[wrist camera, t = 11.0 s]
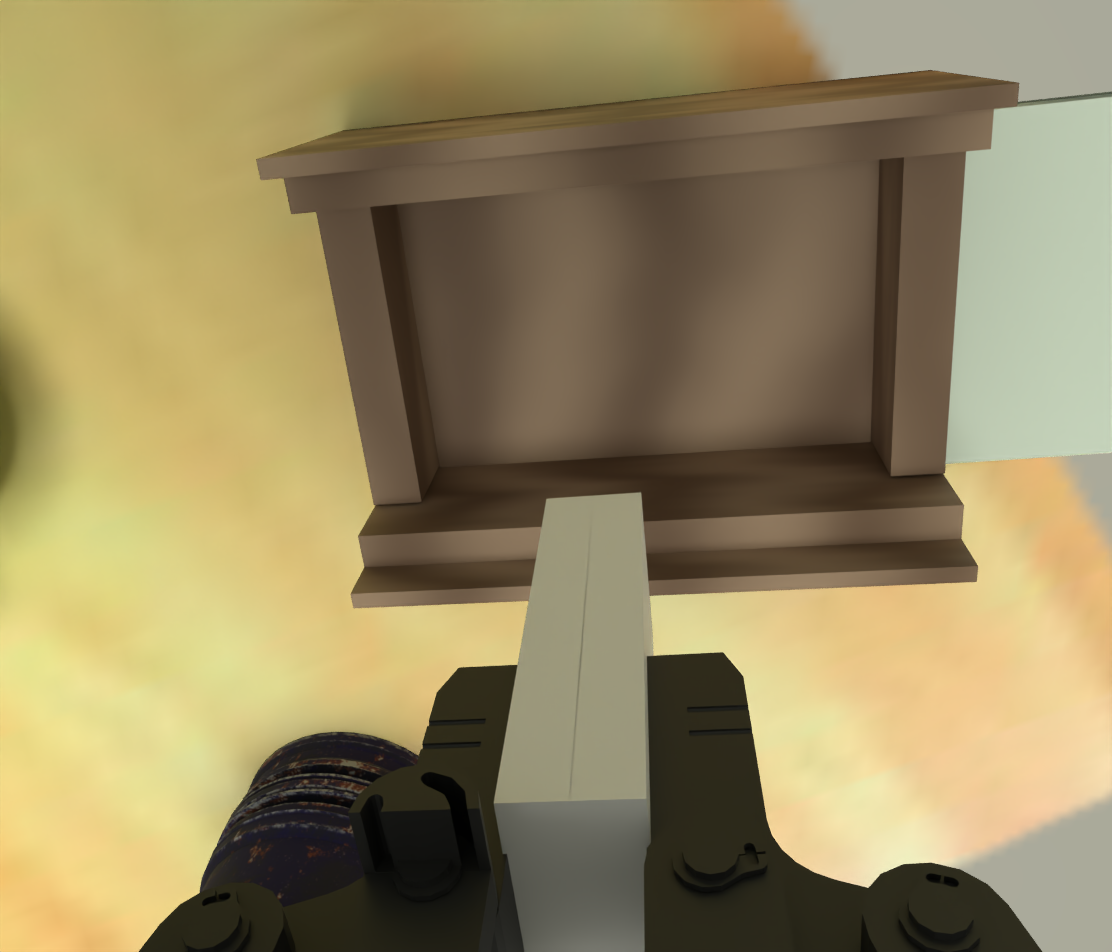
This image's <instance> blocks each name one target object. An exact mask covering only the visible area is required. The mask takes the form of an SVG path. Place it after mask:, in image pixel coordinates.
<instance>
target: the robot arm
mask: <svg viewBox="0 0 1112 952" xmlns="http://www.w3.org/2000/svg"><path fill="white" fill-rule="evenodd" d="M348 815H349V819H350V823H351V826H352V830H353V834H354V838H355V841H356V845H357V849H358V853H359V856H360V860H361V864H362V868H363V871H364V875H363V877H362V878H360V879H359V880H357V881H355V882H354V883H352V884H350V885H349V886H347V887H344V888H342V889H339V890H337V891H334V892H332V893H329V894H326V895H323V896H319V897H316V898H313V899H309V900H306V901H303V902H299V903H296V904H293V905H289V906H286V907H283V906H282V904H281V903H280V902H279V900H278V899H277V897H276V896H275V894H274V893H273V891H271V890H269V889H267V888H264V887H262V886H260V885H257V884H255V883H227V884H224V885H221V886H217V887H214V888H210V889H207V890H204V891H202V892H201V893H199V894H197V895H196V896H194V897H192V898H190V899H189V900H187V901H185V902H184V903H182V904H180V905H179V906H178V907H177V908H176V909H175V910H174V911H173V912H172V913H171V914H170V915H169V916H168V917H167V918H166V919H165V920H164V921H163V922H162V923H161V924H160V925H159V926H158V928H157V929H156V930H155V931H154V933H153V934H152V935H151V937H150V938H149V939H148V940H147V942H146V943H145V944H144V946H143V947H142V948H141V949H140V951H139V952H1042V951H1041V949H1040V948H1039V947H1038V945H1037V944H1036V943H1035V941H1034V940H1033V938H1032V937H1031V936H1030V934H1029V933H1028V931H1027V930H1026V929H1025V928H1024V926H1023V925H1022V923H1021V922H1020V921H1019V919H1018V918H1017V916H1016V915H1015V914H1014V912H1013V911H1012V909H1011V908H1010V907H1009V905H1008V904H1007V903H1006V902H1005V901H1004V900H1003V899H1002V898H1001V897H1000V896H999V895H998V894H997V893H996V892H995V891H994V890H993V889H992V888H991V887H990V886H988V884H986V883H984V882H982V881H980V880H979V879H977V878H975V877H973V876H971V875H969V874H968V873H966V872H964V871H962V870H960V869H956V868H951V867H947V866H943V865H939V864H934V863H918V864H903V865H901V866H898V867H896V868H894V869H891V870H889V871H887V872H884V873H882V874H880V876H879V877H878V878H877V879H876V880H875V881H874V882H873V884H872V885H871V886H870V887H869V888H866V887H862V886H858V885H854V884H850V883H846V882H842V881H838V880H834V879H831V878H828V877H825V876H823V875H820V874H817V873H814V872H812V871H810V870H809V869H807V868H805V867H804V866H802V865H800V864H798V863H797V862H795V861H794V860H793V859H792V858H791V857H790V856H788V855H787V854H786V853H785V852H784V851H783V850H782V849H781V848H780V846H779V845H778V843H777V842H776V841H775V839H774V838H773V836H772V834H771V831H770V828H769V825H768V822H767V819H766V812H765V806H764V800H763V794H762V788H761V782H760V776H759V770H758V764H757V758H756V752H755V746H754V739H753V734H752V727H751V721H750V715H749V710H748V703H747V697H746V691H745V685H744V679H743V676H742V674H741V673H740V672H739V671H738V670H737V668H736V667H735V666H734V665H733V664H732V663H731V661H730V660H729V659H728V658H727V657H726V655H725V654H724V653H723V652H722V653H701V654H681V655H660V656H653V632H652V620H651V608H650V595H649V583H648V571H647V558H646V546H645V534H644V522H643V509H642V497H641V492H640V493H625V494H610V495H595V496H580V497H565V498H550V499H546V505H545V510H544V516H543V522H542V528H541V533H540V539H539V545H538V551H537V556H536V562H535V568H534V574H533V579H532V585H531V591H530V597H529V602H528V608H527V614H526V620H525V626H524V631H523V637H522V643H521V649H520V654H519V660H518V665H505V666H484V667H463V668H458V669H457V670H456V672H455V673H454V674H453V675H452V676H451V677H450V678H449V680H448V681H447V682H446V683H445V684H444V685H443V686H442V688H441V689H440V690H439V691H438V692H437V694H436V698H435V701H434V705H433V708H432V712H431V715H430V719H429V726H427V729H426V733H425V736H424V740H423V749H421V751H420V754H419V758H418V761H417V765H414V766H408V767H403V768H399V769H397V770H395V771H393V772H391V773H388V774H386V775H384V776H382V777H380V778H378V779H376V780H375V781H374V782H373V783H372V784H370V785H369V786H368V787H367V788H366V789H364V790H363V791H362V792H361V793H360V794H359V795H358V797H357V798H356V800H355V802H354V803H353V805H352V807H351V808H350V810H349V812H348Z"/></svg>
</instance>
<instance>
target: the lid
mask: <svg viewBox="0 0 1112 952" xmlns="http://www.w3.org/2000/svg"><path fill="white" fill-rule="evenodd" d="M1101 453H1112V92H1102V93H1093V94H1084V95H1075V96H1067V97H1058V98H1048V99H1038V100H1029V101H1020V102H1018V103H1017V106H1016V107H1006V108H996V109H994V115H993V129H992V142H991V149H987V150H976V151H966V162H965V177H964V192H963V207H962V222H961V237H960V252H959V267H958V282H957V297H956V312H955V327H954V342H953V358H952V373H951V388H950V403H949V418H948V433H947V448H946V463H945V464H951V463H966V462H981V461H996V460H1011V459H1027V458H1042V457H1057V456H1072V455H1087V454H1101Z"/></svg>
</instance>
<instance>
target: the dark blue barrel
mask: <svg viewBox="0 0 1112 952" xmlns="http://www.w3.org/2000/svg"><path fill="white" fill-rule="evenodd" d="M418 758H419V756H417V755H415V754H414V753H412V752H410V751H409V750H407V749H405V748H403V747H401V746H399V745H396V744H394V743H392V742H389V741H387V740H383V739H380V738H377V737H373V736H369V735H363V734H357V733H345V732H331V733H320V734H315V735H311V736H307V737H303V738H300V739H298V740H295V741H293V742H290V743H288V744H286V745H285V746H283V747H282V748H280V749H278V750H277V751H275V752H274V753H273V754H272V755H271V756H270V757H269V758H268V759H267V760H266V761H265V762H264V763H263V765H262V766H261V767H260V769H259V770H258V772H257V774H256V776H255V778H254V779H253V782H252V784H251V786H250V788H249V790H248V793H247V794H246V796H245V797H244V798H243V800H242V802H241V803H240V804H239V805H238V807H237V808H236V809H235V811H234V812H233V813H232V815H231V817H230V819H229V821H228V823H227V825H226V827H225V829H224V830H223V832H222V835H221V837H220V839H219V841H218V843H217V847H216V848H215V849H214V851H213V853H212V856H211V858H210V861H209V863H208V865H207V868H206V870H205V872H204V874H203V877H202V881H201V887H200V893H201V892H202V891H204V890H207V889H210V888H214V887H217V886H221V885H224V884H227V883H255V884H257V885H260V886H262V887H264V888H267V889H269V890H271V891H273V893H274V894H275V896H276V897H277V899H278V900H279V902H280V903H281V904H282V906H283V907H286V906H289V905H293V904H296V903H299V902H303V901H306V900H309V899H313V898H316V897H319V896H323V895H326V894H329V893H332V892H334V891H337V890H339V889H342V888H344V887H347V886H349V885H350V884H352V883H354V882H355V881H357V880H359V879H360V878H362V877H363V875H364V871H363V868H362V864H361V860H360V856H359V853H358V849H357V845H356V841H355V838H354V834H353V830H352V826H351V823H350V819H349V815H348V812H349V810H350V808H351V807H352V805H353V803H354V802H355V800H356V798H357V797H358V795H359V794H360V793H361V792H362V791H363V790H364V789H366V788H367V787H368V786H369V785H370V784H372V783H373V782H374V781H375V780H376V779H378V778H380V777H382V776H384V775H386V774H388V773H391V772H393V771H395V770H397V769H399V768H403V767H408V766H414V765H417V761H418Z"/></svg>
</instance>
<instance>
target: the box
mask: <svg viewBox="0 0 1112 952" xmlns="http://www.w3.org/2000/svg"><path fill="white" fill-rule="evenodd" d="M1018 91H1019V83H1016V82H1009V81H1003V80H996V79H989V78H981V77H975V76H968V75H961V74H954V73H947V72H940V71H932V70H928V71H918V72H908V73H898V74H889V75H879V76H869V77H859V78H850V79H840V80H830V81H820V82H811V83H801V84H791V85H781V86H772V87H762V88H752V89H742V90H733V91H723V92H713V93H704V94H694V95H684V96H674V97H665V98H655V99H645V100H635V101H626V102H616V103H606V104H596V105H587V106H577V107H567V108H558V109H548V110H538V111H528V112H519V113H509V114H499V115H489V116H480V117H470V118H460V119H450V120H441V121H431V122H421V123H412V124H402V125H392V126H382V127H373V128H363V129H353V130H343V131H340V132H337V133H334V134H331V135H328V136H325V137H322V138H319V139H316V140H313V141H310V142H307V143H304V144H301V145H298V146H295V147H292V148H289V149H286V150H283V151H280V152H277V153H274V154H271V155H268V156H265V157H262V158H259V159H256V160H257V165H258V170H259V174H260V179H261V180H268V179H278V178H284V181H285V186H286V191H287V196H288V201H289V205H290V210H291V214H298V213H308V212H316V213H317V218H318V223H319V228H320V234H321V239H322V244H323V249H324V254H325V259H326V264H327V269H328V274H329V279H330V284H331V289H332V294H333V300H334V305H335V310H336V315H337V320H338V325H339V330H340V335H341V340H342V345H343V350H344V355H345V360H346V365H347V371H348V376H349V381H350V386H351V391H352V396H353V401H354V406H355V411H356V416H357V421H358V426H359V431H360V437H361V442H362V447H363V452H364V457H365V462H366V467H367V472H368V477H369V482H370V487H371V492H372V497H373V503H374V505H376V506H375V508H374V509H373V511H372V513H371V515H370V516H369V518H368V520H367V522H366V523H365V525H364V527H363V529H362V530H361V532H360V534H359V536H358V538H359V543H360V548H361V553H362V557H363V562H364V569H363V571H362V573H361V575H360V577H359V579H358V581H357V583H356V585H355V586H354V588H353V590H352V592H351V598H352V603H353V608H371V607H394V606H418V605H442V604H465V603H489V602H512V601H529V597H530V591H531V585H532V579H533V574H534V568H535V562H536V556H537V551H538V545H539V539H540V533H541V528H542V522H543V516H544V510H545V505H546V499H550V498H565V497H580V496H595V495H610V494H625V493H640V492H641V497H642V509H643V522H644V534H645V546H646V558H647V571H648V583H649V595H650V596H653V595H677V594H700V593H724V592H748V591H771V590H795V589H818V588H842V587H865V586H889V585H912V584H936V583H959V582H977V572H978V565H977V564H976V562H975V560H974V559H973V557H972V556H971V554H970V552H969V551H968V549H967V547H966V546H965V544H964V543H963V541H962V539H961V535H962V522H963V509H964V505H963V503H962V502H961V500H960V499H959V497H958V496H957V494H956V493H955V491H954V490H953V488H952V487H951V485H950V484H949V482H948V481H947V479H946V478H945V476H944V475H943V473H945V463H946V448H947V433H948V418H949V403H950V388H951V373H952V358H953V342H954V327H955V312H956V297H957V282H958V267H959V252H960V237H961V222H962V207H963V192H964V177H965V162H966V151H976V150H987V149H991V142H992V129H993V115H994V109H996V108H1006V107H1016V106H1017V103H1018Z"/></svg>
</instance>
